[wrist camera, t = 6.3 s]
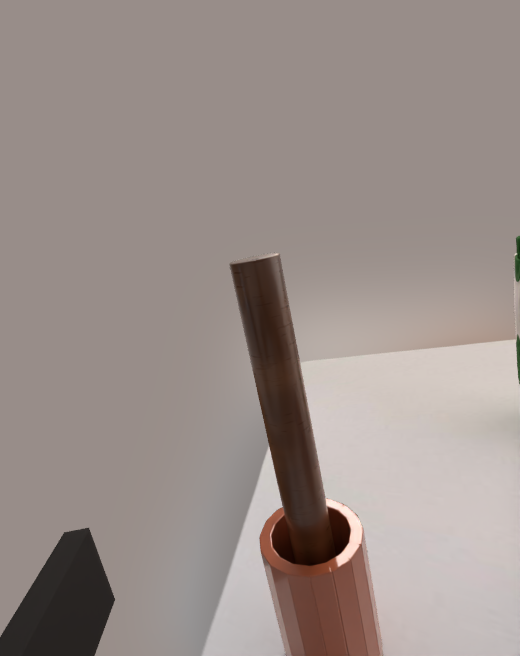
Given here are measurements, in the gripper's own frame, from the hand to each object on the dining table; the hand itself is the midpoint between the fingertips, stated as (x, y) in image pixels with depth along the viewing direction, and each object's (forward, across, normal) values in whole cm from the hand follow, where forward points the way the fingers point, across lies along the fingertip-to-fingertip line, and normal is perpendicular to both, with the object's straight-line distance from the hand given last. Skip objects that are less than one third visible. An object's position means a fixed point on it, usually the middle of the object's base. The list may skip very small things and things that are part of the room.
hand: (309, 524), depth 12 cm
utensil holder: (+9, 0, +17) cm, 19 cm away
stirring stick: (+9, 0, +17) cm, 19 cm away
